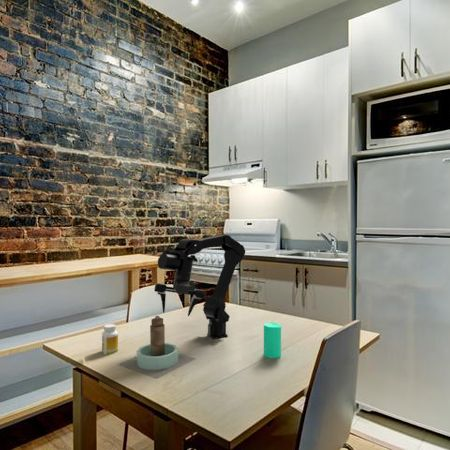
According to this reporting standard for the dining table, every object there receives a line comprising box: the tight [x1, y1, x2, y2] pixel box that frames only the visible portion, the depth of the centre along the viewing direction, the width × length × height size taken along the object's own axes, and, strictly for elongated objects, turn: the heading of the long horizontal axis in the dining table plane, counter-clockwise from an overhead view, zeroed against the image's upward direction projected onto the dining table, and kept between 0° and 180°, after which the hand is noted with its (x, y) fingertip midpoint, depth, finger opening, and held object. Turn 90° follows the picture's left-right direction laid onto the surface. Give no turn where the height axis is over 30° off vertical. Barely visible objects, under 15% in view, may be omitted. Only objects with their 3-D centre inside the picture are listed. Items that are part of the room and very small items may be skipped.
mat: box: [117, 352, 197, 379], centre depth 115 cm, size 18×18×1 cm
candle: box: [263, 320, 282, 359], centre depth 122 cm, size 6×6×12 cm
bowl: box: [136, 342, 179, 370], centre depth 115 cm, size 13×13×4 cm
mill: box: [149, 315, 166, 356], centre depth 115 cm, size 5×5×14 cm
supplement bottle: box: [101, 323, 119, 355], centre depth 124 cm, size 5×5×10 cm
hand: (176, 314), depth 129 cm, fingers open, 9 cm apart
